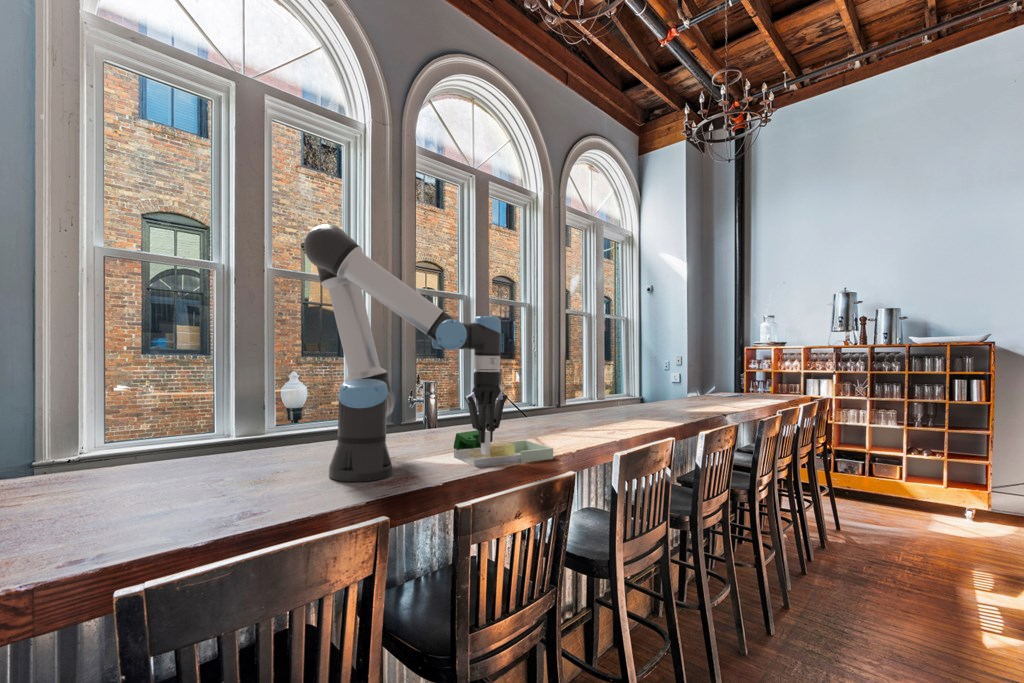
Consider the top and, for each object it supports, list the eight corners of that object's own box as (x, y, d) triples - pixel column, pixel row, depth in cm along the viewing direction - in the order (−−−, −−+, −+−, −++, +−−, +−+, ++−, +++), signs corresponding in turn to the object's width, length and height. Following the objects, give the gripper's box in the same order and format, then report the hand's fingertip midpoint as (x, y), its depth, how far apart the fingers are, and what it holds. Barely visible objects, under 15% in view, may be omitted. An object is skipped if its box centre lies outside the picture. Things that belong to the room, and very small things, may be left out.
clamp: (467, 467, 155) (464, 443, 152) (455, 459, 159) (451, 436, 155) (495, 448, 163) (493, 425, 159) (483, 441, 167) (480, 418, 163)
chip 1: (490, 460, 142) (490, 446, 142) (483, 458, 145) (483, 444, 145) (502, 459, 144) (502, 445, 144) (495, 456, 147) (495, 443, 147)
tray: (521, 465, 141) (521, 451, 141) (495, 455, 153) (495, 442, 153) (553, 461, 147) (553, 448, 147) (525, 452, 159) (525, 439, 159)
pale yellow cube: (502, 459, 144) (502, 445, 144) (495, 456, 147) (495, 443, 147) (514, 458, 146) (514, 444, 146) (507, 455, 150) (507, 441, 150)
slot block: (476, 470, 134) (476, 459, 134) (453, 459, 145) (454, 450, 145) (520, 464, 142) (520, 454, 142) (495, 455, 153) (496, 446, 153)
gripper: (472, 371, 137) (470, 459, 136) (513, 371, 143) (511, 454, 143) (460, 370, 143) (458, 453, 143) (500, 370, 150) (498, 449, 150)
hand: (485, 454), depth 143 cm, fingers closed
